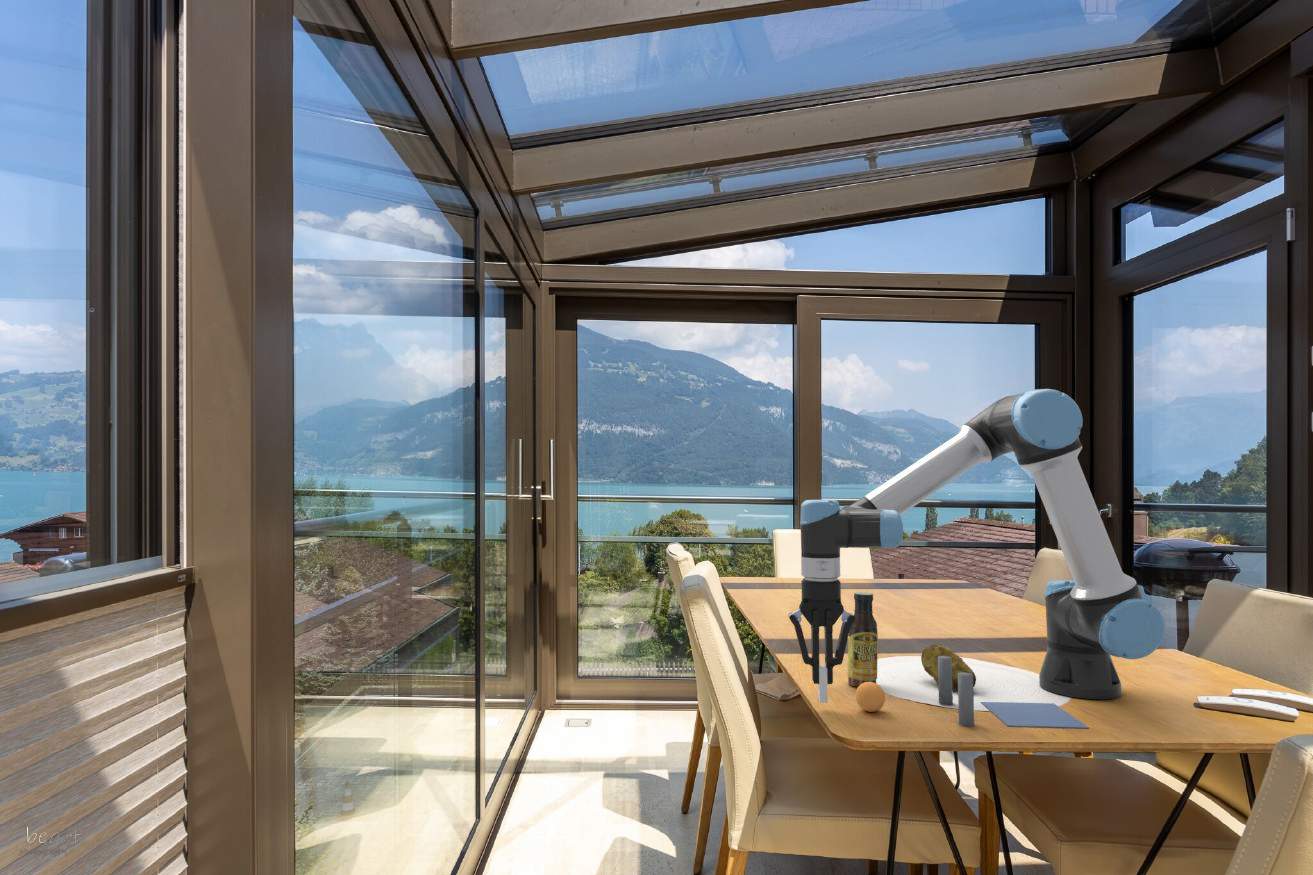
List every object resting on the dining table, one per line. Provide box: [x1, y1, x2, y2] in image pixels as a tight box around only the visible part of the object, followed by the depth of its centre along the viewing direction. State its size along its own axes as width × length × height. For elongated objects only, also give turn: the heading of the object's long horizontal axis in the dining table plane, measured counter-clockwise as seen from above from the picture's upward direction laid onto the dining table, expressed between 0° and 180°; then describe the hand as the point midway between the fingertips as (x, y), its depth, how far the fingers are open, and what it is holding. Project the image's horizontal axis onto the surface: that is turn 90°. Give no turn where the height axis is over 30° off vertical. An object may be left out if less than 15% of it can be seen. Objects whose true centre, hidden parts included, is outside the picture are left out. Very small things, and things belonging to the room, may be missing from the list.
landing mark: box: [980, 701, 1089, 729], centre depth 140 cm, size 14×14×1 cm
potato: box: [920, 644, 977, 691], centre depth 159 cm, size 8×13×8 cm, turn 3°
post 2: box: [957, 672, 975, 728], centre depth 135 cm, size 3×3×9 cm
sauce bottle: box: [847, 591, 879, 688], centre depth 160 cm, size 6×6×20 cm
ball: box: [855, 682, 886, 713], centre depth 142 cm, size 6×6×6 cm
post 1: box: [937, 656, 954, 706], centre depth 147 cm, size 3×3×9 cm
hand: (822, 700), depth 143 cm, fingers closed
